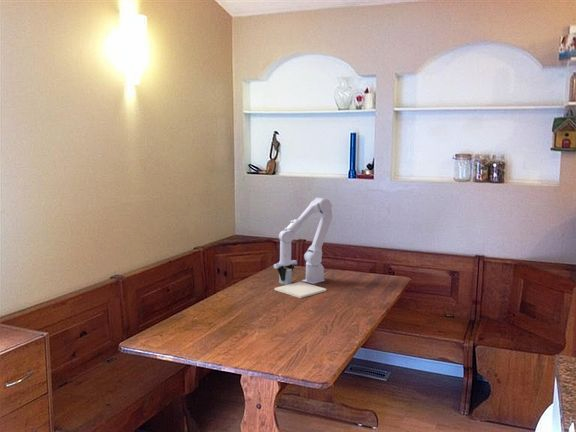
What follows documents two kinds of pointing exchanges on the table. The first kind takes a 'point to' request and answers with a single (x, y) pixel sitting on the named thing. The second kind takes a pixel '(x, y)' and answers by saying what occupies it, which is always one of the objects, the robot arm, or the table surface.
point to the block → (286, 277)
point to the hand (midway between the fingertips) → (285, 279)
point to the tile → (300, 289)
